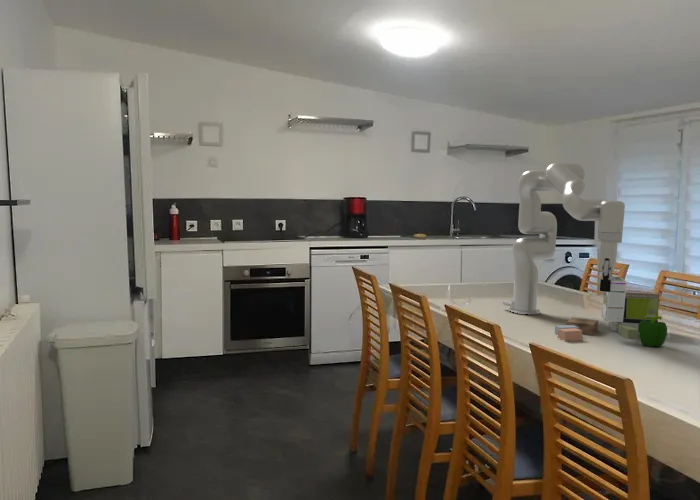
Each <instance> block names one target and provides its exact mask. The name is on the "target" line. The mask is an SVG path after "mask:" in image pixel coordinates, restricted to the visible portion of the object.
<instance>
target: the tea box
mask: <svg viewBox="0 0 700 500" xmlns="http://www.w3.org/2000/svg"><path fill="white" fill-rule="evenodd" d="M659 297H660V294H659V293H657V292H656V291H655V290H651V289H648V290H647V289H629V288H626V295H625V306H624V316H623V322H609V321H608V326H609V327H610V330H611V331H612V332H618V329H619V325H629V326H631V327H634V328H636V329H638V325H639V323H640V321H642V320H647V321H651V320H652V319H653V317H656V316H659V303H660V302H659V301H660V300H659V299H660V298H659ZM655 322H659V319H656V320H655ZM638 334H639V331H638Z"/></svg>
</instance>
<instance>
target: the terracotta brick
mask: <svg viewBox="0 0 700 500" xmlns="http://www.w3.org/2000/svg"><path fill="white" fill-rule="evenodd" d="M558 338H560V339H562V340H575V341H582V340H583V334H582V330H580V329H576V328H570V329H558V336H557V339H558ZM560 339H559V340H560ZM562 340H561V341H562Z"/></svg>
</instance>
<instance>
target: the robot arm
mask: <svg viewBox="0 0 700 500" xmlns="http://www.w3.org/2000/svg"><path fill="white" fill-rule="evenodd" d="M584 179H585V170H584V168H583V167H582V166H581V164H579V163H575V162H554V163H551V164H549V165H548V167H546V169H531V170H527V171H525V172H523V173H522V174H521V175H520V177H519V180H518V183H517V184H518V186H517V187H518V195H519V205H518V206H519V208H518V222H517V223H518V224H517V225H518V226H517V227H518V231H520V233H522V234H524V235H539V237H534V236H533V237H532V236H531V237H530V236H529V237H520V238H518V239H516V240H515V241H514V243H513V245H512V255H513V261H514V268H513V269H514V271H513V273H514V276H513V297H512V300H510V301H508V300H503V301H502V305H503V306H505V307H509V308H508V311H509V312H510V311H511V312H510V313H512V312H514V313H513V314H517V313H518V314H517V315H525V314H528V316H530V315H539V314H541V310H540V309H539V308H537V305H538V304H537V303H538V278H539V277H538V276H539V271H538V270H539V269H538V266H537V265H536V263H535V261H546V260H551V258H553V257H554V255H555V252H556V247H557V246H556V244H557V231H558V223H557V222H558V220H557V217H556V215H554V214H553V213H552V212H551V211H542V209H541V208H542V200H541V197H540V195H539V194H538V192H555V193H556V192H559V193H560V194H561V195H562V196H561V202H562V203H561V204H562V207H563V209H564V210H565V212H567V214H569V215H570V216H571V217H572V218H573V219H575V220H577V221H582V222H583V221H584V222H589V221H591V222H598V229H597V242H600V243H599V251H598V260H597V261H598V263H597V271H599V272H601V278H600V281H599V282H600V283H599V291H600V292H603V293H604V292H610V287H611V280H610V277H613V272H614V269H615V266H616V261H617V255H618V253H617V252H618V244H620V243H622V241H623V231H624V218H625V207H626V205H625V203H624V202H623V201H621V200H608V199H601V198H600V199H599V198H598V199H596V198H582V197H581V195H582V193H583V192H584V190H585V185H586V184H585V182H584Z"/></svg>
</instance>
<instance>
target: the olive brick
mask: <svg viewBox="0 0 700 500" xmlns="http://www.w3.org/2000/svg"><path fill="white" fill-rule="evenodd" d="M617 334H618V336H619V335H620V337H623V338H625V339H626V340H638V339H639V338H638V337H639V333H638V329H636V328H634V327H631V326H629V325H619V329H618V331H617Z"/></svg>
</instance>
